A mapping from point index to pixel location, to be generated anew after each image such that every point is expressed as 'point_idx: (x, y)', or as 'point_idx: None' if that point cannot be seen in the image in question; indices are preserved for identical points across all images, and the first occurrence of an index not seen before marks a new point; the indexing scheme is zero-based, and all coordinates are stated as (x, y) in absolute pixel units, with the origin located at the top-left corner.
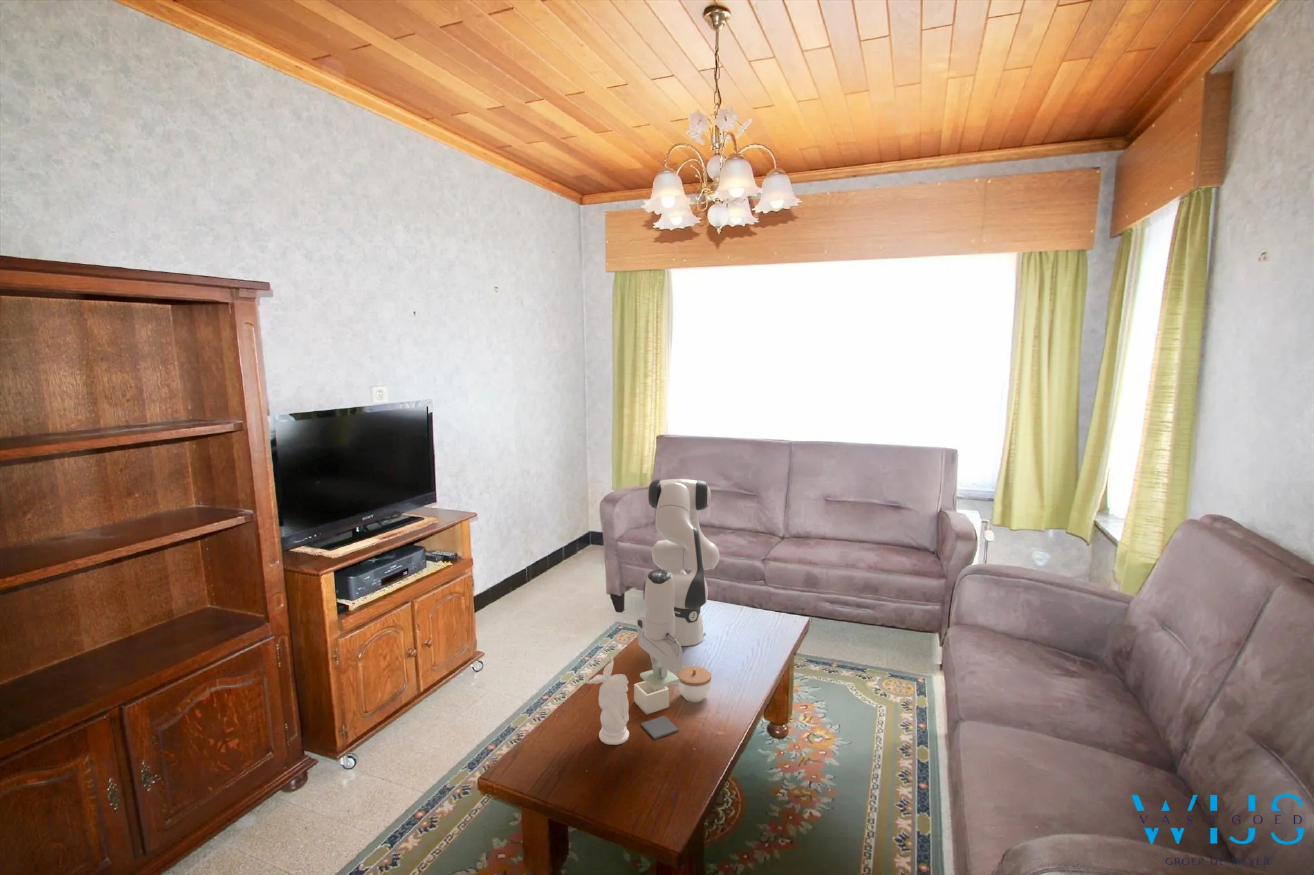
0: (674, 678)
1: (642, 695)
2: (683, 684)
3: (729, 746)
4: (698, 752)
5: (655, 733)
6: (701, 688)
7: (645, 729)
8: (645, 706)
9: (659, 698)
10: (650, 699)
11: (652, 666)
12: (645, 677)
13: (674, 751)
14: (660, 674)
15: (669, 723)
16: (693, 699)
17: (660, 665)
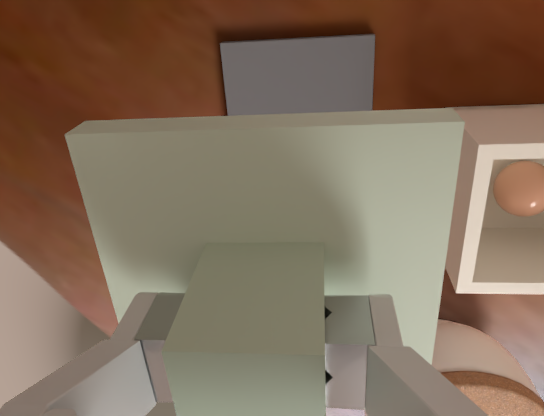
0: None
1: (531, 135)
2: (437, 368)
3: (74, 288)
4: (68, 176)
5: (250, 65)
6: None
7: (323, 36)
8: (469, 118)
9: (454, 214)
10: (464, 161)
11: (390, 317)
12: (314, 136)
13: (102, 87)
14: (172, 303)
15: None
16: None
17: (213, 405)
